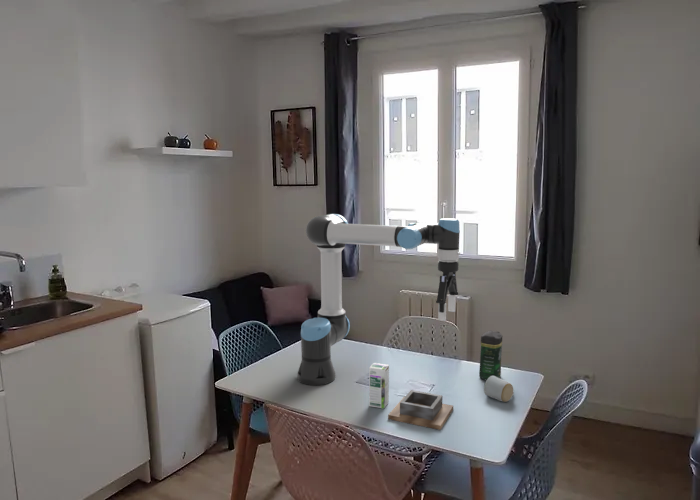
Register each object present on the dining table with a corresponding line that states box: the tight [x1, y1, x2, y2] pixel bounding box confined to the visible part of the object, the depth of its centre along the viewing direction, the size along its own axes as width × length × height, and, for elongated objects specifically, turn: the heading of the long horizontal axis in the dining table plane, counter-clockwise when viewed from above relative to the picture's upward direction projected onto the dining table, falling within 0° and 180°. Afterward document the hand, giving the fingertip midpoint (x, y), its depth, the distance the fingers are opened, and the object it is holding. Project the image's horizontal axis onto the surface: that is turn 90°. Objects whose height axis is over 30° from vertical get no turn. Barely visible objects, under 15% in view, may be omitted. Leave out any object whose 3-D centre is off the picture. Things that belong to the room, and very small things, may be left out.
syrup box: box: [368, 362, 390, 410], centre depth 188 cm, size 6×6×14 cm
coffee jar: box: [478, 330, 503, 381], centre depth 212 cm, size 10×8×19 cm
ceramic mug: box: [483, 376, 515, 403], centre depth 194 cm, size 11×8×8 cm
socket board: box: [387, 389, 454, 431], centre depth 181 cm, size 18×16×6 cm
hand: (446, 316), depth 200 cm, fingers open, 13 cm apart
